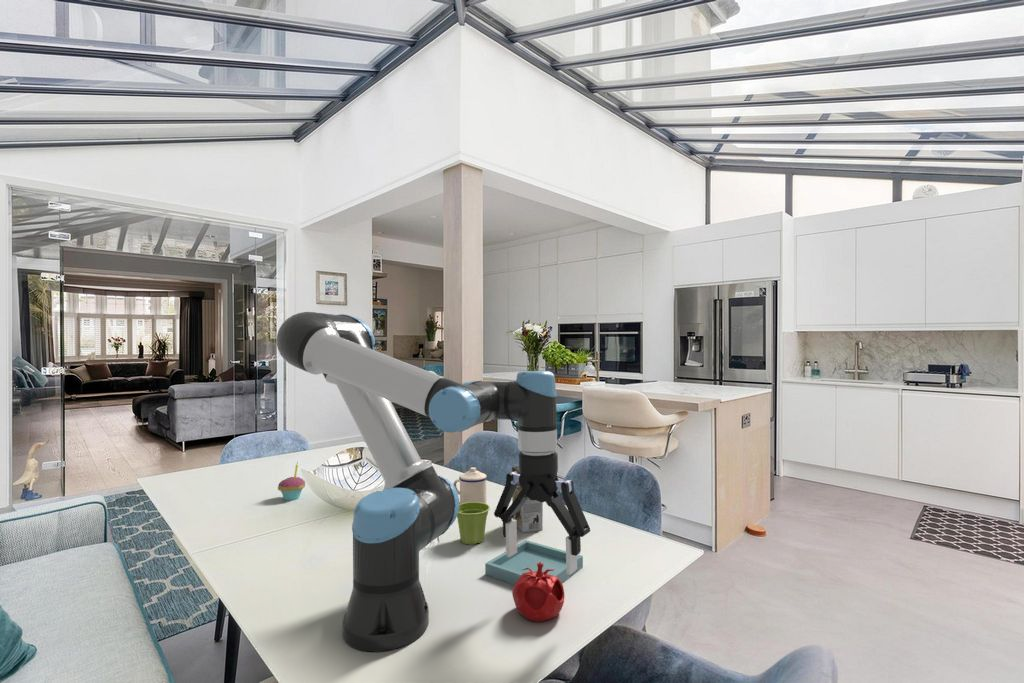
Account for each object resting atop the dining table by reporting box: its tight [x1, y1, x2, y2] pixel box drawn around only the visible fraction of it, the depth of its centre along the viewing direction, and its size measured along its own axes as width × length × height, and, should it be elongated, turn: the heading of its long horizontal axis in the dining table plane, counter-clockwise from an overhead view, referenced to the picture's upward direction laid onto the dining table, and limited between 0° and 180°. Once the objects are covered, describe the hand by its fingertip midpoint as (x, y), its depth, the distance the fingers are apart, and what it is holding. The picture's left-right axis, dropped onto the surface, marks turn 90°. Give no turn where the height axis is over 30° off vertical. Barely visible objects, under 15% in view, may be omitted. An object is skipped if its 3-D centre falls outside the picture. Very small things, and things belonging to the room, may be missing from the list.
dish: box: [484, 540, 584, 585], centre depth 109 cm, size 16×16×2 cm
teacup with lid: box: [452, 467, 488, 504], centre depth 157 cm, size 12×9×12 cm
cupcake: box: [277, 461, 306, 501], centre depth 163 cm, size 9×8×12 cm
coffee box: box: [511, 465, 544, 533], centre depth 137 cm, size 9×6×16 cm
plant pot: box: [456, 502, 491, 546], centre depth 126 cm, size 9×9×9 cm
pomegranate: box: [511, 562, 566, 622], centre depth 92 cm, size 10×10×9 cm
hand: (540, 562), depth 91 cm, fingers open, 13 cm apart
